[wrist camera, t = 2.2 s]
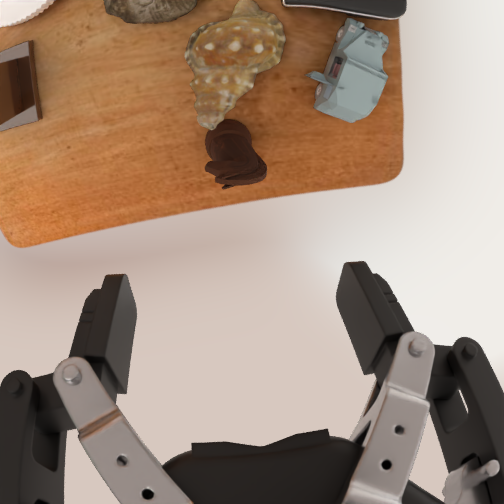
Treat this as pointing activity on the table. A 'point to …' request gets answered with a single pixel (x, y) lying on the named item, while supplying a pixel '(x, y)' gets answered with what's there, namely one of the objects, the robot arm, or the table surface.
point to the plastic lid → (20, 10)
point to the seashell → (231, 58)
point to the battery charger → (356, 7)
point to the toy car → (352, 73)
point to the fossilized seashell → (149, 10)
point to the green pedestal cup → (18, 87)
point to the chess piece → (233, 155)
